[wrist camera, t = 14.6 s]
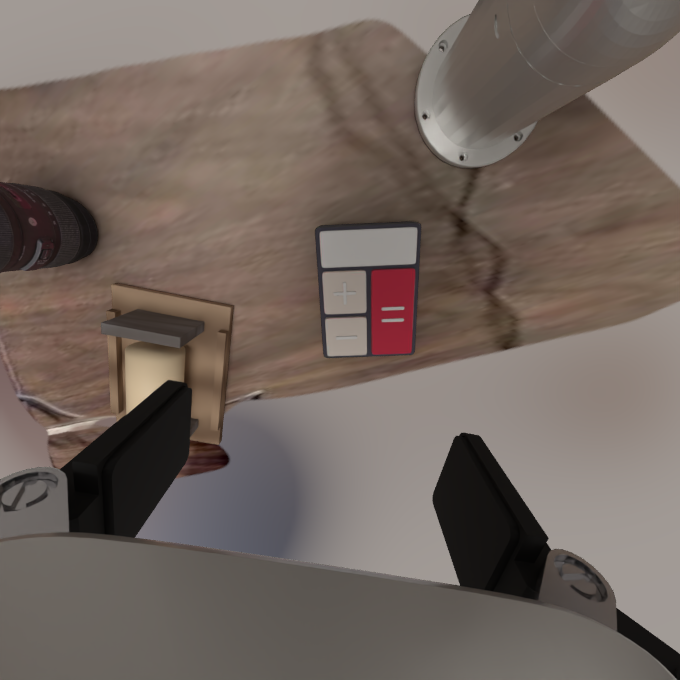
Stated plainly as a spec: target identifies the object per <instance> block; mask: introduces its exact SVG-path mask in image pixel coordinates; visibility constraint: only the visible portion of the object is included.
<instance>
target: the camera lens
mask: <svg viewBox="0 0 680 680" xmlns="http://www.w3.org/2000/svg"><path fill="white" fill-rule="evenodd" d="M97 236H98V234H97V228H96V224H95V222H94V220H93V218H92V217H91V215H90V214H89V212H88V211H87V210H86V209H85V208H84V207H83V206H82V205H81V204H79V203H78V202H76V201H74V200H73V199H70V198H67V197H65V196H63V195H62V194H59V193H57V192H54V191H50V190H46V189H42V188H39V187H34V186H28V185H21V184H15V183H3V182H0V273H1V272H6V271H16V270H24V271H30V270H36V269H41V268H51V267H58V266H62V265H65V264H70V263H74V262H76V261H78V260H80V259H81V258H83V257H85V256H87V255H89V254H90V253H91V252H92V251H93V250H94V248H95V246H96V243H97Z"/></svg>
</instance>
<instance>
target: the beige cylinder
mask: <svg viewBox="0 0 680 680" xmlns="http://www.w3.org/2000/svg"><path fill="white" fill-rule="evenodd" d="M184 372H185V348H184V347H183V346H182V347H181V348H176V347H170V346H165V345H159V344H154V343H149V342H143V341H140V342H136V343H133V344H131V345H129V346H127V347H126V348H125V382H126V414H128V413H129V412H130V411H131V410H133V409H134V408H135V407H136V406H137V405H139V404H140V403H141V402H142V401H143V400H145V399H146V398H147V397H148V396H149V395H150V394H152V393H153V392H154V391H155V390H156V389H158V388H159V387H160V386H161V385H162V384H163V383H165V382H166V381H167V380H173V381H179V382H184Z"/></svg>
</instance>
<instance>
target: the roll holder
mask: <svg viewBox="0 0 680 680" xmlns="http://www.w3.org/2000/svg"><path fill="white" fill-rule="evenodd" d="M111 291H112V309H111V310H108V311H106V317H107V321H104V322H102V323H101V332H102V334H106V335H107V339H108V361H109V382H110V404H111V413H115V414H116V419H117V421H118V420H120V419H121V418H122V417H123V416H125V415H126V382H125V348H126V347H127V346H129V345H131V344H133V343H136V342H140V341H143V342H149V343H154V344H159V345H165V346H170V347H176V348H181V347H182V346H183V347H184V348H185V372H184V383H187V386H188V388H191V389H192V406H191V425H190V440H194V441H200V442H206V443H212V444H217V445H219V444H220V442H221V440H222V429H223V418H224V408H225V397H226V386H227V375H228V364H229V353H230V342H231V331H232V320H233V309H234V306H232V305H227V304H222V303H217V302H212V301H207V300H201V299H196V298H191V297H186V296H181V295H176V294H171V293H165V292H160V291H155V290H150V289H145V288H140V287H135V286H130V285H124V284H119V283H115V284H111Z"/></svg>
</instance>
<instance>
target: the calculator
mask: <svg viewBox="0 0 680 680" xmlns="http://www.w3.org/2000/svg"><path fill="white" fill-rule="evenodd" d="M315 237H316V252H317V267H318V282H319V296H320V311H321V326H322V340H323V354H324V357H326V358H341V357H368V356H396V355H412V354H414V352H415V337H416V317H417V298H418V279H419V260H420V240H421V224H420V223H418V222H387V223H364V224H342V225H321V226H319V227H317V228H316V230H315Z"/></svg>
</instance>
